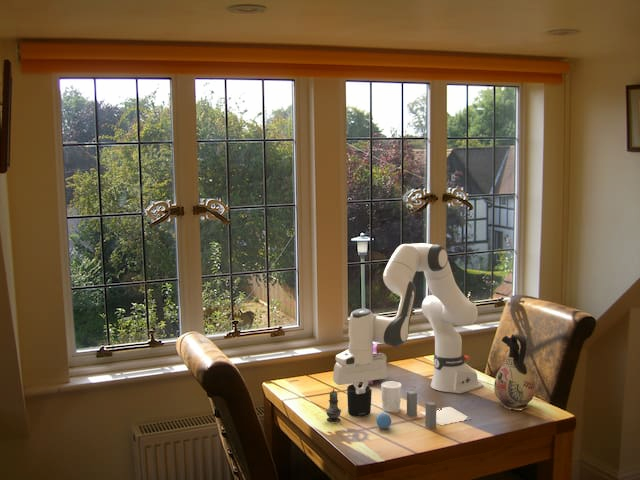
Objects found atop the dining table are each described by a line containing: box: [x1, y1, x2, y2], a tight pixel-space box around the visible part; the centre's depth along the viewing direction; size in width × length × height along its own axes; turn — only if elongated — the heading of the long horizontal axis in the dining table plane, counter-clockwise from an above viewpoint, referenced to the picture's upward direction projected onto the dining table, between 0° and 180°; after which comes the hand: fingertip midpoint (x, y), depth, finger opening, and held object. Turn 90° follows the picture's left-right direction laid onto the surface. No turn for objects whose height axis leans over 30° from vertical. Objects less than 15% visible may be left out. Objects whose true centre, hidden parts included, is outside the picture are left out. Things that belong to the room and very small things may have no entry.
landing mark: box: [419, 406, 468, 426], centre depth 263 cm, size 14×14×1 cm
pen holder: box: [346, 383, 373, 418], centre depth 266 cm, size 9×9×10 cm
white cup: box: [380, 380, 402, 413], centre depth 270 cm, size 8×8×10 cm
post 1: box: [406, 390, 418, 418], centre depth 264 cm, size 3×3×9 cm
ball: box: [375, 412, 392, 429], centre depth 251 cm, size 6×6×6 cm
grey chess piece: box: [325, 389, 342, 423], centre depth 259 cm, size 6×6×12 cm
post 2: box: [424, 401, 437, 430], centre depth 252 cm, size 3×3×9 cm
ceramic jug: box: [493, 334, 536, 410], centre depth 270 cm, size 17×15×30 cm
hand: (360, 393), depth 246 cm, fingers closed
